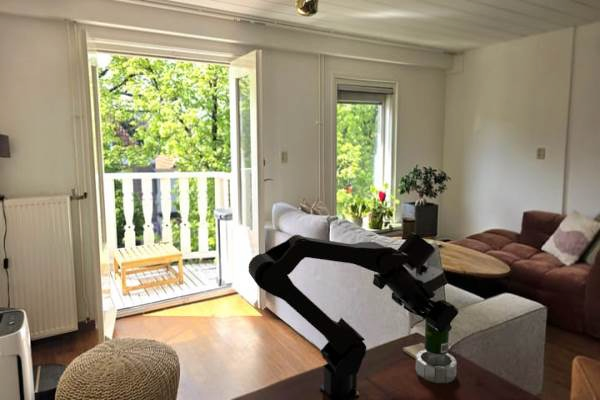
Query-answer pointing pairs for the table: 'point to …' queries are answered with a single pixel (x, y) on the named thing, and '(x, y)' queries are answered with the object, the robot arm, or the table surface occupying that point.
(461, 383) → the table surface
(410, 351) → the cork coaster
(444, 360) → the ring holder
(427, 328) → the beer can
